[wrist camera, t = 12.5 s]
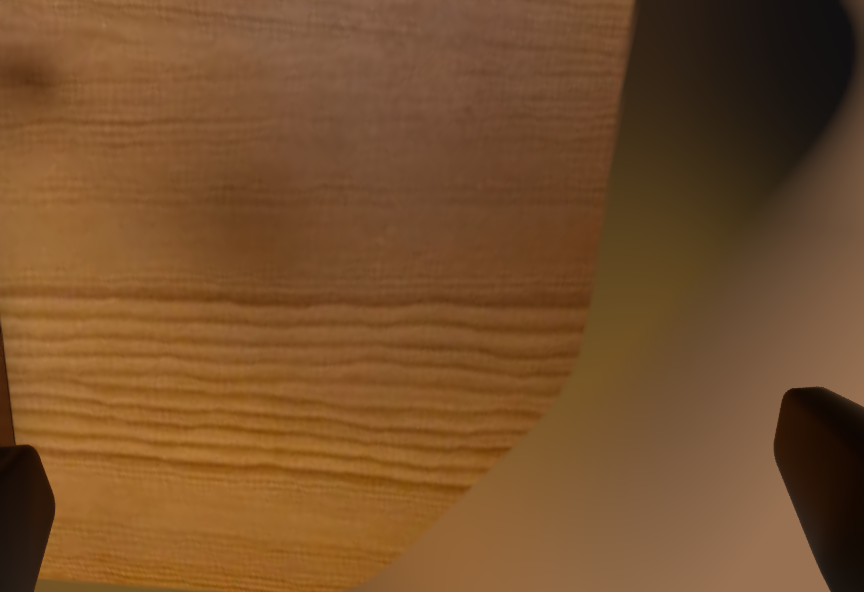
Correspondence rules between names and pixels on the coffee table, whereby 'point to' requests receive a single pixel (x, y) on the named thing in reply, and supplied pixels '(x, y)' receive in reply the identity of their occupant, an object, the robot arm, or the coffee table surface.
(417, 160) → the coffee table surface
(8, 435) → the door frame
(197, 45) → the coffee table surface
